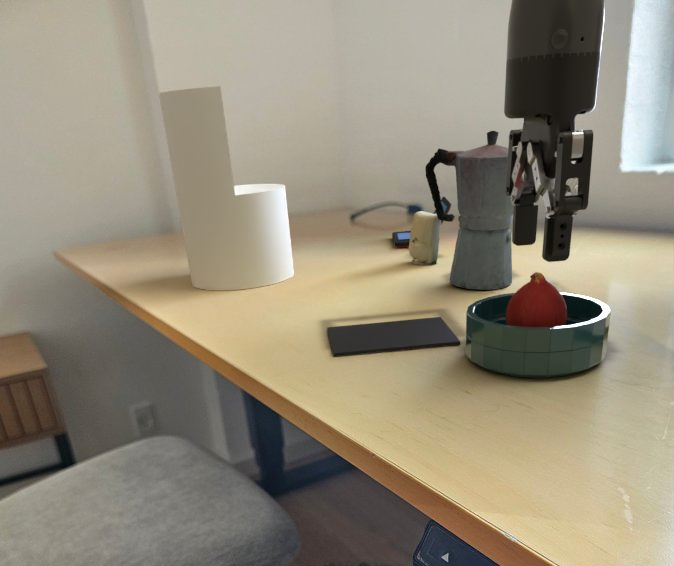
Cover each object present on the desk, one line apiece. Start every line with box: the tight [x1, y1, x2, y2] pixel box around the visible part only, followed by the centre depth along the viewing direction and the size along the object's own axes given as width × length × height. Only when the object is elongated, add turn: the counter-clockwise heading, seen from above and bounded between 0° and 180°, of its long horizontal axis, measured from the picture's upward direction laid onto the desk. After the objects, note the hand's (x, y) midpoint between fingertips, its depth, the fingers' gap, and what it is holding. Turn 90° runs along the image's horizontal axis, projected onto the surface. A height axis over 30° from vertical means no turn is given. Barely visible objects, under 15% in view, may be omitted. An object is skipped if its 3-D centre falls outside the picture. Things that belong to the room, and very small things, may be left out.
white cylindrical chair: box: [158, 85, 295, 291], centre depth 104 cm, size 17×17×28 cm
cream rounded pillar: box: [408, 210, 442, 266], centre depth 109 cm, size 6×5×8 cm
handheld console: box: [391, 196, 452, 249], centre depth 127 cm, size 12×11×7 cm
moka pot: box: [425, 130, 525, 291], centre depth 91 cm, size 10×15×20 cm, turn 71°
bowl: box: [465, 292, 612, 379], centre depth 65 cm, size 13×13×5 cm
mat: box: [326, 316, 461, 358], centre depth 76 cm, size 14×10×1 cm
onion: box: [506, 271, 567, 327], centre depth 64 cm, size 6×6×8 cm
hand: (538, 252), depth 62 cm, fingers open, 8 cm apart
